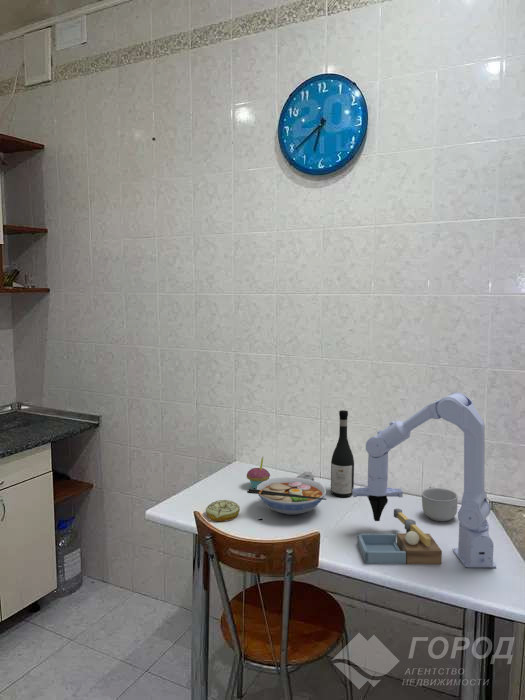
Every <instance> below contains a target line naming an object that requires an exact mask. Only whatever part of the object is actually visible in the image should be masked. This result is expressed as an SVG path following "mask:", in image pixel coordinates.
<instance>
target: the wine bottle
mask: <svg viewBox="0 0 525 700" xmlns="http://www.w3.org/2000/svg"><path fill="white" fill-rule="evenodd" d="M338 413H339V414H338V415H339V433H338V435H339V436H338V440H337V444H336V446H335V448H334V450H333V453H332V456H331V461H330V492H331V494H332V495H334V496H336V497H341V498H347V497H350V496H353V495H352V489H355V488H354V486H355V485H354V483H355V478H354V477H355V460H354V455H353V452H352V449H351V445H350V443H349V440H348V439H349V438H348V416H349V411H348V410H339V412H338Z"/></svg>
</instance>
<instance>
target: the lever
mask: <svg viewBox="0 0 525 700" xmlns="http://www.w3.org/2000/svg"><path fill="white" fill-rule="evenodd" d="M393 517H394V518H395V519H398V520H399V521H400V522H401V523H402V524H403V525H404V530H409V531H414V532H416V533H417V534H418V536H419V540H420V541H421V542H422V543H424V544H425V545H426V546H430V545H431V539H430V538H429V537H428V536H427V535H426V534H427V533H425V532H424V531H422V530H421V529H420V528H419V527H418V526H417V525H416V524H417V521H415V520H414V519H411V518H410V519H409V518H408V517H407V516H406V515H405V514H404V513H403V510H402V509H401V508H394V509H393Z"/></svg>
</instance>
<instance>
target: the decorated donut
mask: <svg viewBox="0 0 525 700" xmlns="http://www.w3.org/2000/svg"><path fill="white" fill-rule="evenodd" d="M240 510H241V509H240V505H239V504H238V503H237V502H235V501H233V500H229V499H219V500H216V501H213V502H211V503H210V504H208V505H207V506H206V507H205V513H206V516H207V518H208V519H209V520H210V519H211V520H210V521H213V520H215V521H214V522H226V521H225V520H228V521H231V520H234V519H236V517H238V515H239V514H240Z"/></svg>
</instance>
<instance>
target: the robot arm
mask: <svg viewBox="0 0 525 700" xmlns="http://www.w3.org/2000/svg"><path fill="white" fill-rule="evenodd" d="M431 419H434V420H440V419H442V420H445V421H446V422H449V423H451V424H454V425H455V426H457V427H458V428H459V429H460V430H461V431H462V432H463V493H462V498H461V507H460V509H459V510H458V511H457V519H458V521H459V523H458V524H459V525H458V542H457V543H458V544H457V545H458V547H453V548H452V551H453V553H454V554H455V555H456V557H457V558H458V559H459V561H460V562H461V563H462V565H463V566H464V567H465V568H497V565H496V564H495V562H494V542H493V540H492V538H491V537H490V534H489V531H490V530H489V529H490V528H489V527H490V525H489V523H488V520H487V517H488V516H490V513H491V505H490V503H489V501H488V497H487V492H486V490H485V457H486V456H485V455H486V454H485V453H486V451H485V448H486V447H485V446H486V445H485V444H486V443H485V440H486V439H485V436H486V435H485V428H486V427H485V421H483V418H482V417H481V415H480V414H479V412H478V410H477V408H476V407H475V405H474V402H473V400H472V399H470V398H469V397H468V396H467V395H465V394H464V393H461V392H460V391H459V392H452V393H450V394H448V396H445V397H442V398H440V399H438V400H435V401H433V402H430V403H429V404H427V405H425V406H424V407H423V408H422V409H420V410H419V411H418V412H416V413H414V414H413V415H412V416H410V417H409V418H408V419H406V420H405V421H403V420H396V421H394V420H392V421H391V422H389V423H388V424H389V425H388V426H387V427H386V428H384V429H382V430H381V429H380V430H378V431H377V432H376V435H374V436H372V437H370V438H369V439H368V440H366V442H365V451H366V452H367V454H368V458H367V459H368V460H367V461H368V462H367V486H366V487H365V486H363V487H358V488H354V489H352V495H351V496H352V497H353V498H357V497H367V498H368V501H369V504H370V507H371V511H372V515H373V520H374V522H380V521H381V520H380V519H381V516H382V514H383V512H384V511H383V510H384V509H385V507H386V506H387V504H388V501H389V500H388V497H395V498H397V497H398V498H403V497H404V496H403V493H404V491H403V490H402V488H394V487H388V482H389V481H388V479H389V478H388V474H389V452H390V451H391V449H394V448H395V447H397V446H398V445H400V444H402V443H403V442H405V441H406V440H407V439H409V438H410V437H411V433H412V432H411V431H413V430H415V429H416V428H419V426H421V425H422V424H423V425H424V423H426V422H427V421H429V420H431Z"/></svg>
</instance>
